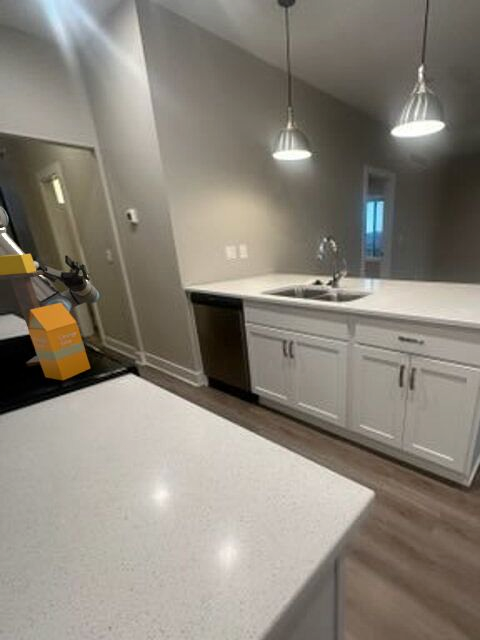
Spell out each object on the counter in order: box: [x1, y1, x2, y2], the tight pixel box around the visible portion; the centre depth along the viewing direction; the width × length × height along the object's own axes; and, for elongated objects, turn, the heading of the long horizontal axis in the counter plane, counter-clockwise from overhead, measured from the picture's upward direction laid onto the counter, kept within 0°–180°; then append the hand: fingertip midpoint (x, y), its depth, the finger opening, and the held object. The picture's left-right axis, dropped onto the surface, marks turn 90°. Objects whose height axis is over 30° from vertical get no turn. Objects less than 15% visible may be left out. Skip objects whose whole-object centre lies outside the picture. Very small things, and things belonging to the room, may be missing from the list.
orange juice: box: [27, 303, 91, 381], centre depth 97 cm, size 8×9×20 cm
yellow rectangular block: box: [0, 253, 39, 275], centre depth 104 cm, size 7×14×5 cm, turn 14°
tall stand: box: [0, 270, 43, 367], centre depth 106 cm, size 10×6×28 cm, turn 104°
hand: (50, 259), depth 122 cm, fingers open, 9 cm apart
